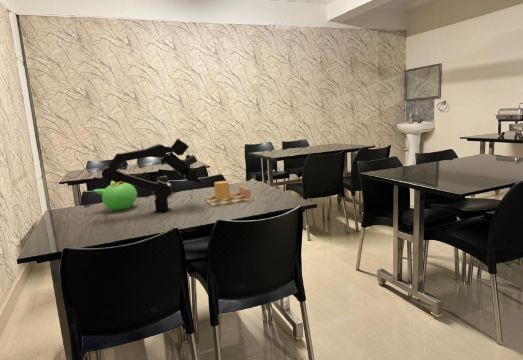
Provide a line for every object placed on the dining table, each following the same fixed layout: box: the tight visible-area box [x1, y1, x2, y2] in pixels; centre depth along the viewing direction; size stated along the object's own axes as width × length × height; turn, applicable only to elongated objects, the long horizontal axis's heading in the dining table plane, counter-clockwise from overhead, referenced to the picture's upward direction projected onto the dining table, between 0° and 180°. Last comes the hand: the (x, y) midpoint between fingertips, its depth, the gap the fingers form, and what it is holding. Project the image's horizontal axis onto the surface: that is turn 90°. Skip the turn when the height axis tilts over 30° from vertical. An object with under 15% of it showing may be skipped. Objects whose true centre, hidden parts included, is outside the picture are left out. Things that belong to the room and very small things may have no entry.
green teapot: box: [93, 181, 138, 211], centre depth 188 cm, size 18×17×15 cm
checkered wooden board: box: [203, 191, 254, 208], centre depth 193 cm, size 22×14×3 cm, turn 113°
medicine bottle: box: [156, 175, 173, 199], centre depth 210 cm, size 7×7×12 cm
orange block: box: [213, 180, 231, 199], centre depth 191 cm, size 6×6×9 cm
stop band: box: [238, 184, 251, 199], centre depth 196 cm, size 2×12×5 cm, turn 23°
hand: (199, 182), depth 185 cm, fingers closed
